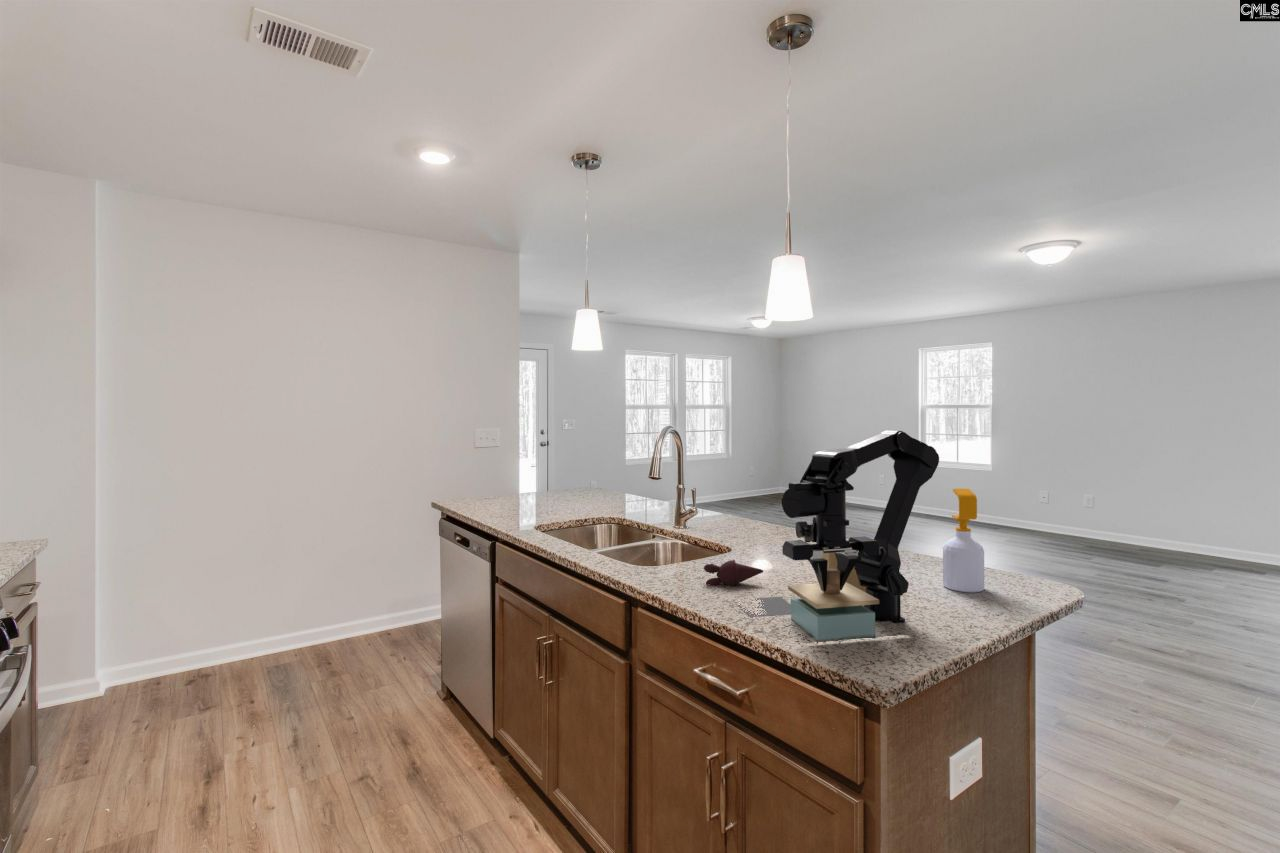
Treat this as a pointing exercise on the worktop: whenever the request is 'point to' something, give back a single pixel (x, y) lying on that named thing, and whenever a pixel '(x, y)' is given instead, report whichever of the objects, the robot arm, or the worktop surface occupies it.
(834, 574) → the lid
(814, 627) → the light blue box
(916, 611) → the worktop surface
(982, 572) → the soap bottle
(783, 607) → the mat
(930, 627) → the worktop surface
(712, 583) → the icecream
